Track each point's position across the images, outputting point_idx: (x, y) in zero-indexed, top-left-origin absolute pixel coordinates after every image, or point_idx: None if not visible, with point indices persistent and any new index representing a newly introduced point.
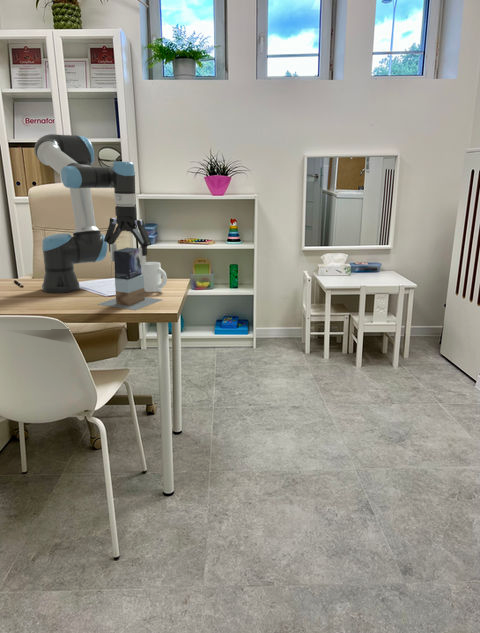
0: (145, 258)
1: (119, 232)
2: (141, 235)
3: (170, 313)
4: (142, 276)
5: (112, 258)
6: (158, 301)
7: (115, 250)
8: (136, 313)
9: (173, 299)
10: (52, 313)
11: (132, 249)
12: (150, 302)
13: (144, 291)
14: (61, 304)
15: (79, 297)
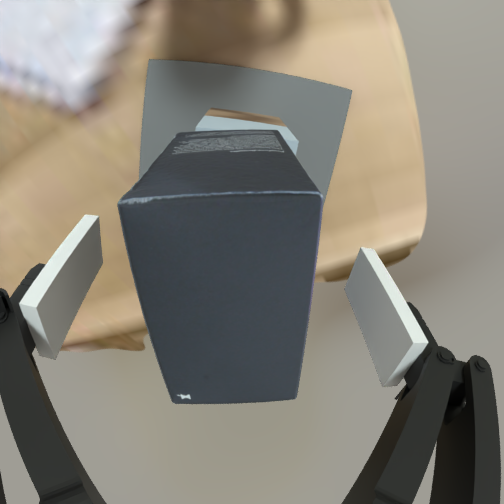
0: (386, 275)
1: (84, 477)
2: (437, 472)
3: (415, 244)
4: (294, 153)
5: (95, 275)
6: (344, 123)
7: (67, 278)
8: (319, 274)
9: (382, 63)
10: (101, 331)
11: (269, 309)
12: (319, 148)
13: (284, 124)
14: (45, 260)
15: (20, 170)
